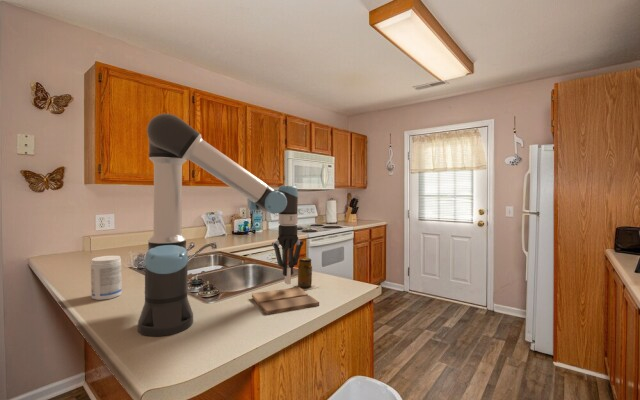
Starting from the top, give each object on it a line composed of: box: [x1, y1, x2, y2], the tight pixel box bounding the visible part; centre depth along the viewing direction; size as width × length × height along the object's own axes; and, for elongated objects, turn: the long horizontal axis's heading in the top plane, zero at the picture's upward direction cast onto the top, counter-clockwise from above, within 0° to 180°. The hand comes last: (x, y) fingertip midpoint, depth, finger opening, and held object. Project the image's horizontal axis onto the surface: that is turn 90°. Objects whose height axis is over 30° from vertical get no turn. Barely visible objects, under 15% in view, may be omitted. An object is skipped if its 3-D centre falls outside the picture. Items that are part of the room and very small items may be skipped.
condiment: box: [293, 257, 319, 291], centre depth 137 cm, size 7×8×12 cm
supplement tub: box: [90, 255, 123, 301], centre depth 119 cm, size 10×10×15 cm
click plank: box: [251, 286, 309, 306], centre depth 122 cm, size 20×8×1 cm, turn 118°
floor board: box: [258, 294, 320, 315], centre depth 114 cm, size 20×9×1 cm, turn 118°
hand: (287, 283), depth 126 cm, fingers closed
